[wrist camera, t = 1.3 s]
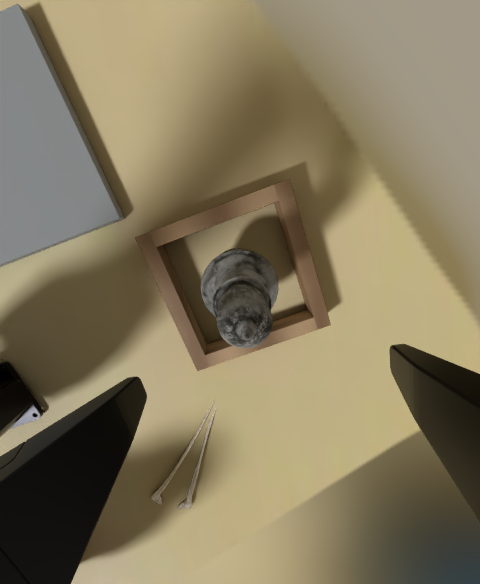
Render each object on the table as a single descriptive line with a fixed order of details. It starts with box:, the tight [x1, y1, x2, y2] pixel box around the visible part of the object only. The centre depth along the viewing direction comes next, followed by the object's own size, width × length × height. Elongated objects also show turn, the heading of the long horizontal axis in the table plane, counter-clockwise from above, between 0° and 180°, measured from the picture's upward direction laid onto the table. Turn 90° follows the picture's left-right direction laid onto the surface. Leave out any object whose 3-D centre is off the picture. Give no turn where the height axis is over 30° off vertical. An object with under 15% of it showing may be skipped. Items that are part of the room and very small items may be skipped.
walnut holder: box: [135, 179, 331, 371], centre depth 22 cm, size 12×12×2 cm
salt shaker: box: [201, 249, 278, 348], centre depth 17 cm, size 6×6×12 cm
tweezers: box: [151, 400, 217, 509], centre depth 28 cm, size 17×5×2 cm, turn 158°
